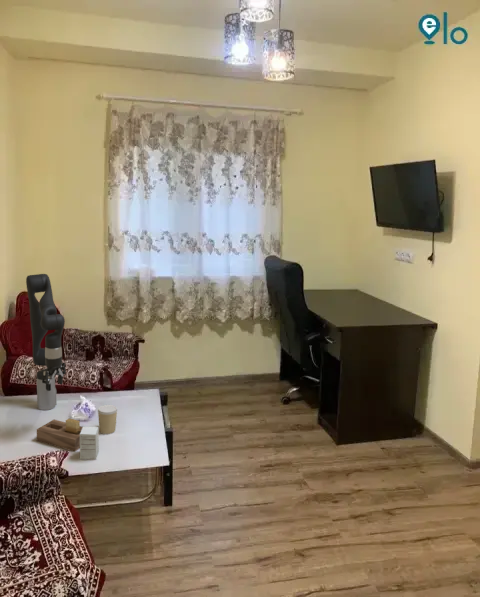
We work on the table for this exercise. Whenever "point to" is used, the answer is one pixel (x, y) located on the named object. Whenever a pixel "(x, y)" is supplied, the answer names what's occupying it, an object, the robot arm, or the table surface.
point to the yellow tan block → (73, 426)
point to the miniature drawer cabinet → (89, 443)
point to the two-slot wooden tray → (58, 435)
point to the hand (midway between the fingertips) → (54, 387)
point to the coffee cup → (107, 419)
